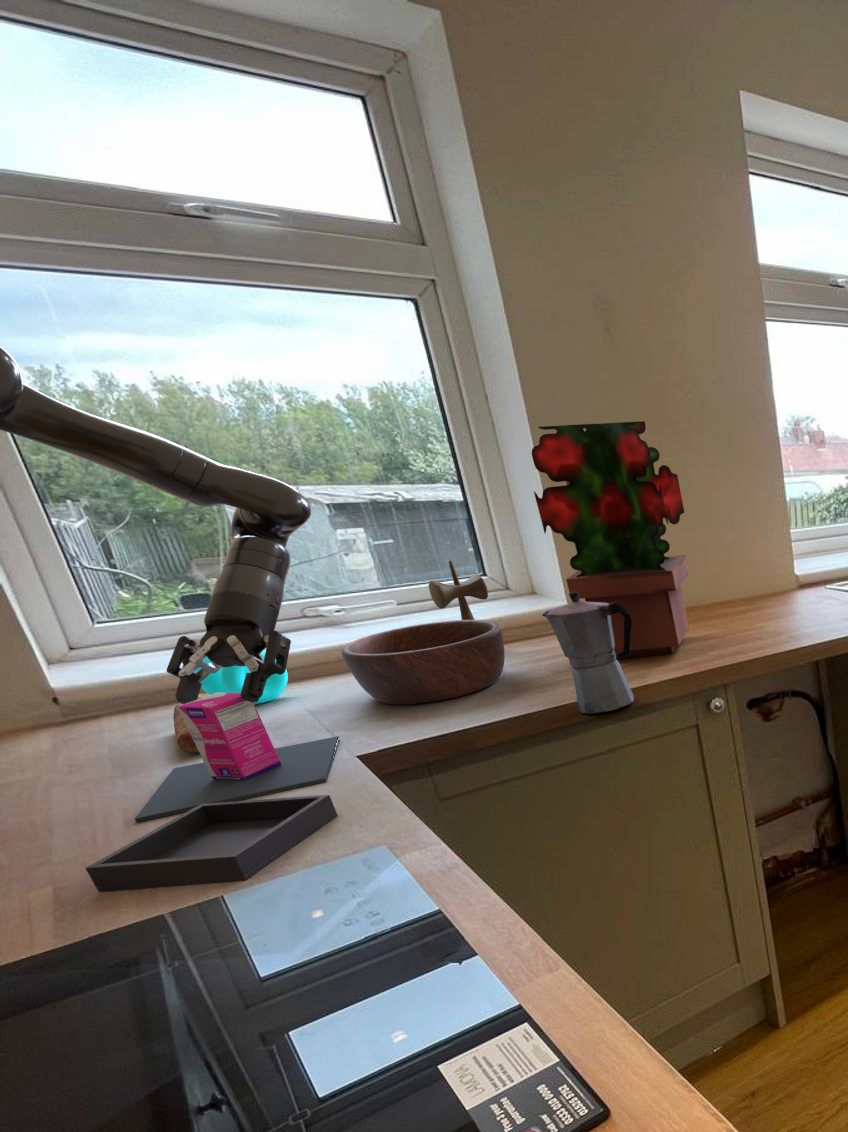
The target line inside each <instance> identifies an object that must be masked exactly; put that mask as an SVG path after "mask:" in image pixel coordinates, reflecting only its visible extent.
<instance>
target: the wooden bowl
mask: <svg viewBox="0 0 848 1132" xmlns="http://www.w3.org/2000/svg"><path fill="white" fill-rule="evenodd" d="M341 656H342V658H343V660H344V662H345V663H346V665H347V667H348V669H349V670H350V672H351V674H352V676H353V677H354V679H355V680H356V681H357V683H358V684H359V686H360V687H361V688H362V689H363V691H365V692H366V693H367V694H368V695H370V696H371V697H372V698H373V699H375V700H376V701H378V702H381V703H383V704H386V705H387V704H388V705H395V706H396V705H405V706H406V705H417V704H418V705H419V704H426V703H432V702H433V703H434V702H439V701H444V700H449V699H454V698H458V697H462V696H465V695H468V694H472V693H475V692H478V691H480V690H483V689H486V688H487V687H490V686H491V685H493V684H495V683H496V682H497V681H498V680H499V678H500V677H501V675H502V673H503V671H504V665H505V659H506V657H505V656H506V655H505V643H504V635H503V631H502V627H501V625H500V624H499V623H497V622H495V621H492V620H487V619H475V620H462V619H455V620H444V621H435V622H428V623H419V624H415V625H408V626H403V627H398V628H394V629H389V630H384V631H380V632H377V633H373V634H370V635H366V636H363V637H360V638H358V639H355V640H353V641H351V642H349V643H347V644H346V645H345V646H343V647H342V649H341Z"/></svg>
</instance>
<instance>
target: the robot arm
mask: <svg viewBox="0 0 848 1132" xmlns="http://www.w3.org/2000/svg"><path fill="white" fill-rule="evenodd" d="M0 431H1V432H5V433H8V434H11V435H15V436H18V437H22V438H24V439H27V440H29V441H34V442H35V443H39V444H42V445H45V446H47V447H51V448H53V449H57V450H60V451H62V452H64V453H68V454H71V455H73V456H75V457H78V458H80V459H83V460H86V461H89V462H91V463H94V464H95V465H98V466H101V467H104V468H106V469H108V470H111V471H114V472H116V473H118V474H120V475H122V476H126V477H128V478H131V479H133V480H135V481H137V482H140V483H141V484H145V485H147V486H149V487H152V488H154V489H157V490H159V491H161V492H164V493H166V494H168V495H171V496H173V497H176V498H178V499H181V500H184V501H186V502H188V503H191V504H193V505H196V506H199V507H203V508H211V507H216V506H223V505H225V506H229V507H233V508H235V510H234V512H233V516H232V520H231V526H230V546H229V548H228V551H227V553H226V556H225V559H224V563H223V566H222V569H221V571H220V574H219V575H218V577H217V579H216V581H215V583H214V587H213V590H212V593H211V596H210V600H209V603H208V606H207V609H206V612H205V615H204V618H203V622H204V626H205V629H206V631H205V634H204V635H203V636H202V637H201V638H199V639H197V638H196V639H193V638H190V637H188V636H186V635H181V636H179V638H178V640H177V642H176V645H175V647H174V650H173V651H172V653H171V657H170V660H169V662H168V665H167V667H166V670H165V671H166V673H168V674H170V675H172V676H174V677H176V678H177V679H179V682H178V685H177V689H176V692H175V694H174V696H175V700H176V701H177V702H178V703H182V704H186V703H189V702H192V701H195V700H197V699H198V695H199V694H200V692H201V689H202V688H201V685H202V683H200V682H202V681H203V680H204V679H205V678H206V677H207V676H208V675H210V674H211V673H217V672H218V671H219V670H220V669H221V668H222V667H231V666H247V668H248V669H249V671H251V673H246V677H245V680H244V684H243V687H242V691H241V697H242V698H243V699H245V700H247V701H249V702H258V701H259V698H261V696H262V695H263V691H264V688H265V684H266V680H267V679H269V678H270V677H271V675H274V674H276V673H277V674H279V675H281V674H283V673H284V672H285V670H287V665H288V660H289V654H290V649H291V645H292V640H291V639H290V638H289V637H287V635H284V634H283V633H281V632H279V631H277V630H276V626H277V622H278V618H279V615H280V611H281V607H282V604H283V600H284V591H285V584H286V581H287V578H288V574H289V569H290V566H291V554H290V552H289V551H288V549H287V548H286V547H287V543H288V541H289V540H290V537H291V536H292V534H294V533H295V532H296V531H297V530H299V529H300V528H301V527H303V526H304V525H305V524H306V523H307V522H308V521H309V520H310V518H311V514H312V508H311V505H310V503H309V501H308V500H307V499H306V497H305V496H304V495H303V494H302V493H301V492H300V491H298V490H297V489H296V488H294V487H293V486H291V485H289V484H287V483H285V482H283V481H281V480H278V479H276V478H273V477H269V476H267V475H263V474H259V473H256V472H253V471H248V470H246V469H242V468H238V467H234V466H229V465H225V464H222V463H220V462H217V461H214V460H213V459H210V458H208V457H206V456H204V455H202V454H199V453H197V452H195V451H193V450H190V449H189V448H186V447H184V446H182V445H179V444H177V443H175V442H172V441H170V440H168V439H165V438H163V437H161V436H158V435H155V434H153V433H150V432H147V431H144V430H141V429H139V428H135V427H131V426H129V425H126V424H123V423H119V422H116V421H113V420H109V419H106V418H103V417H100V416H97V415H94V414H91V413H88V412H86V411H84V410H80V409H78V408H77V407H73V406H71V405H68V404H66V403H64V402H61V401H59V400H57V399H55V398H53V397H50V396H48V395H47V394H45V393H43V392H42V391H41V392H40V391H39V390H37V389H35V388H33V387H32V386H30V385H28V384H26V383H24V376H23V373H22V370H21V369H20V367H19V365H18V363H17V361H16V359H14V357H13V355H11V354H10V353H9V352H8V350H6V349H4V348H3V347H2V346H1V345H0ZM262 651H266V652H265V657H264V659H263V657H262V656H261V652H262ZM205 657H207V658H208V659H209V660H210V661H211V662H213V663H211V664H208V663H206V662H204V661H203V659H204V658H205ZM275 660H276V663H275ZM181 665H182V666H181ZM199 667H202V669H201V670H200V671H198V672H197V673H196V669H197V668H199Z"/></svg>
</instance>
